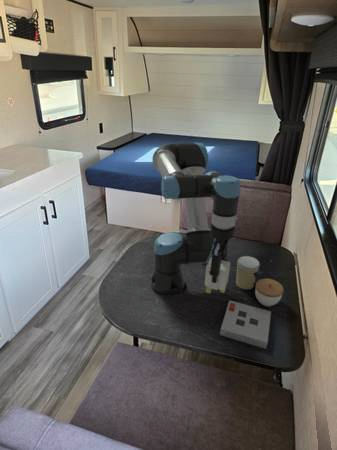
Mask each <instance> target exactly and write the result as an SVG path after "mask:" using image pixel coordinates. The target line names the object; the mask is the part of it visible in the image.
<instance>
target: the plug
mask: <svg viewBox="0 0 337 450" xmlns="http://www.w3.org/2000/svg"><path fill="white" fill-rule="evenodd" d="M211 261H212V258H211V259H210V260H209V262H208V263H206V267H205V275H204V277H205V278H204V287H205V293H207V294H211V293H212V290H213V289H211V288H210V282H211V275H210V273H209V271H210V269H211ZM230 269H231V261H228V260H227V261H223V260H221V265H220V271H219V273H220V277H219V285H218V290H219V293H222V294H225V292H226V289H227V288H226V287H227V285H228V282H229V278H230V277H229V276H230V275H229V274H230Z"/></svg>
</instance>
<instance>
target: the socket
mask: <svg viewBox="0 0 337 450" xmlns="http://www.w3.org/2000/svg"><path fill="white" fill-rule="evenodd" d="M271 315H272V311H271V310H267V309H263V308H259V307H256V306H251V305H248V304H245V303H241V302H238V301H233V300H229V301H228V304H227V307H226V310H225V313H224V317H223V321H222V324H221V327H220V332H219V336H222V337H226V338H228V339H233V340H235V341H239V342H242V343H245V344H248V345H252V346H256V347H258V348H261V349H265V350H267V346H268V343H269V335H270V334H269V333H270V323H271V318H272V317H271Z"/></svg>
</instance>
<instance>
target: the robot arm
mask: <svg viewBox="0 0 337 450" xmlns="http://www.w3.org/2000/svg"><path fill="white" fill-rule="evenodd" d="M152 165H153V167H154V168H155V170H157V171H158V172H159V174H160V175H161V177H162V178H161V181H160V182H161V183H160V185H161V187H160V191H161V196H162V198H164V199H165V200H166V199H167V200H169V199H170V200H178V199H180V200H181V199H184V200H185V210H186V211H185V212H186V221H187V230H186V231H185V233H184V235H185V236H183V235H182V234H181V233H178V232H176V231H175V232H166V233H162V234H161V235H159V236H158V237H157V238H156V239H155V241H154V248H153V252H154V267H153V268H154V269H153V271H152V274H151V276H150V288H152V289H153V290H154V291H155V292H156V293H159V294H163V295H174V294H178V293H179V292H181V291H183V289H184V287H185V282H186V281H185V280H186V279H185V276H184V273H183V270H182V266H184V265H198V264H208V262H209V260H210V259H211V258H212V261H211V269H210V271H209V273H210V275H211V282H210V288H211V289H212V290H216V291H218V290H219V289H218V285H219V277H220V273H219V271H220V265H221V260H223V261H228V259H226V258H227V256H228V255H227V254H228V243H229V240H231V239H232V238H234V235H235V231H236V229H235V228H236V221H238V220H239V218H238V217H237V213H238V205H239V200H240V195H241V194H240V193H241V180H240V179H239V178H238V177H235V176H234V175H233V176H232V175H223V174H221V173H219V172H217V171H214V170H211V171H208V172H206V169H207V168H208V165H209V152H208V150H207V147H206V146H205V145H204V143H202V142H196V141H195V142H194V141H193V142H168V143H164V144H162V145H161V146H159V147H157V149H156V150H155V151H154V153H153V155H152ZM205 172H206V173H205ZM205 198H211V199H212V200H213V204H212V213H211V224H210V225H211V226H210V227H209V225H208V214H207V206H206V199H205Z"/></svg>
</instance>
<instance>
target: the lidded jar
mask: <svg viewBox="0 0 337 450" xmlns="http://www.w3.org/2000/svg"><path fill="white" fill-rule="evenodd" d="M254 288H255V290H254V293H255V297H256V300H257V301H258V302H259V303H260V305H262V306H264V307H272V306H275V305H277V304H278V303H280V300H281V299H282V296H283V293H284V290H285V289H284V286H283V285H282V284H281V283H280V282H278V281H277V280H275V279H272V278H267V277H266V278H260V279H258V280H257V281H255V287H254Z"/></svg>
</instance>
